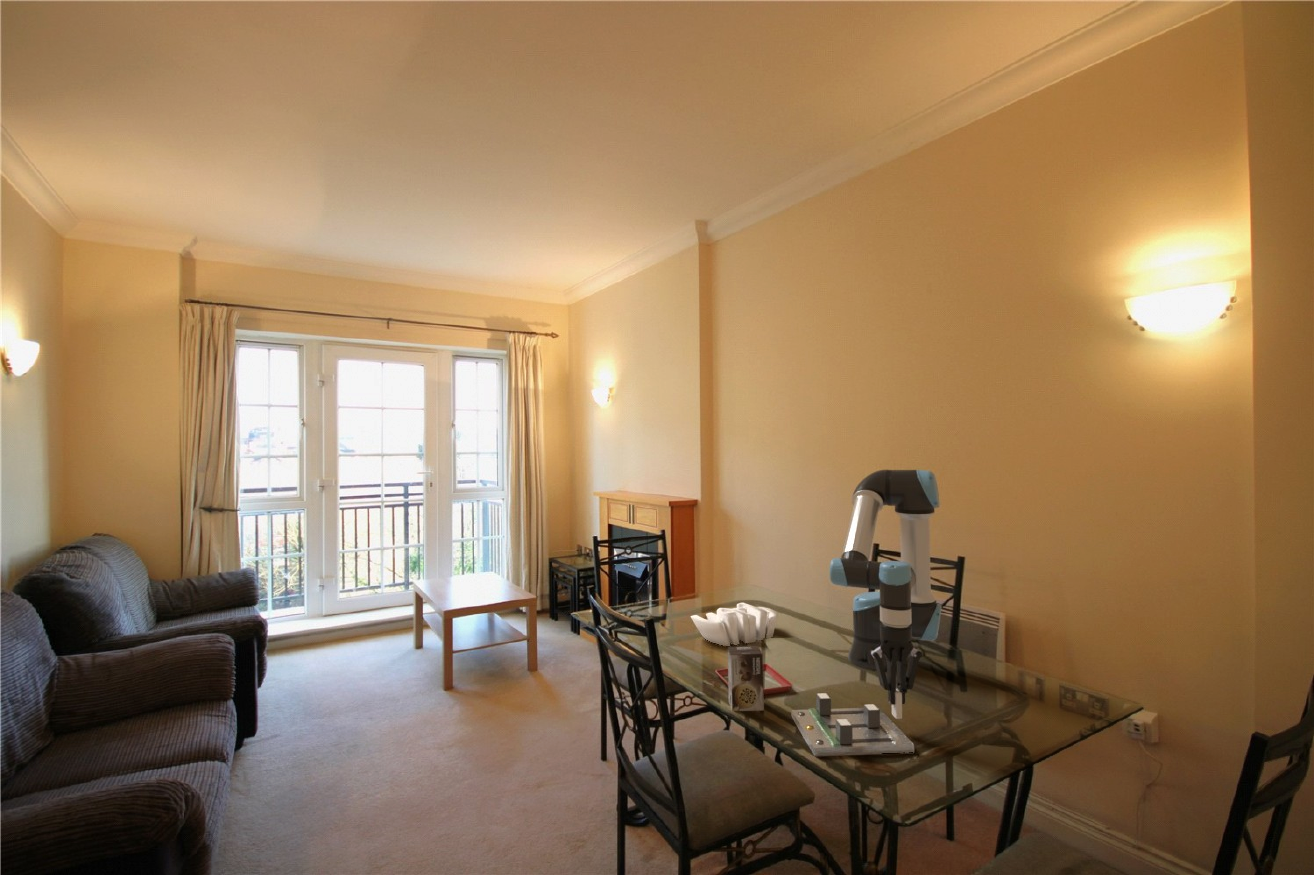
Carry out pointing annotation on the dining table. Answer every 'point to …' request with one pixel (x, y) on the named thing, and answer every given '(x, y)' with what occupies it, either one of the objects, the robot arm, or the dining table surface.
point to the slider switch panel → (865, 740)
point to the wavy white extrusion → (737, 624)
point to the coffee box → (745, 678)
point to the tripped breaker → (871, 716)
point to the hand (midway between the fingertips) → (896, 716)
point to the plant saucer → (778, 677)
